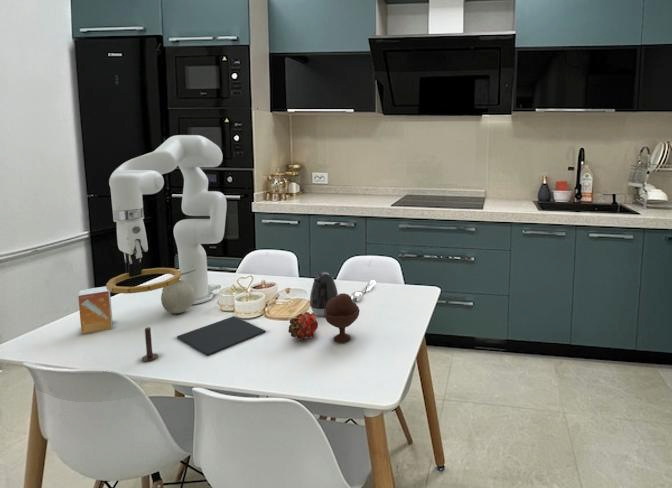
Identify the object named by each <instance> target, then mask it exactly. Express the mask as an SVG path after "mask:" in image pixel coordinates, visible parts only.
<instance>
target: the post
mask: <svg viewBox="0 0 672 488" xmlns="http://www.w3.org/2000/svg"><path fill="white" fill-rule="evenodd" d="M151 329H152V328H151V327H150V326H148V327H147V326H146V327H145V328H144V337H145V338H144V339H145V350H146V351H145V352H146V354H145V355H143V356H142V358H141V362H143V363H148V362H152V361H155V360H157V359H158V358H159V354H158V353H153V342H152V330H151Z"/></svg>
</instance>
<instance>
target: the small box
mask: <svg viewBox="0 0 672 488" xmlns="http://www.w3.org/2000/svg"><path fill="white" fill-rule="evenodd" d="M77 297H78V307H79V308H78V310H79V321H80V332H81V335H85V334H89V333H94V332H99V331H105V330H111V329H112V328H113V312H112V311H113V310H112V298H111V292H110V291H109V290H107V288H106V285H104V286H100V287H99V286H98V287H92V288H86V289H80V290H79V292H78V296H77Z"/></svg>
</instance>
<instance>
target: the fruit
mask: <svg viewBox="0 0 672 488" xmlns="http://www.w3.org/2000/svg"><path fill="white" fill-rule="evenodd" d="M193 271H196V270H193ZM193 271H190V272H193ZM190 272H186V273H182V274H181V275H184V274H187V273H190ZM161 291H162V292H161V295H160V302H161V305H162V307H163V308H164V309H163V310H165V311H166V312H168V313H171V314H174V315H175V314H181V313H184V312H187V311H189V309H190V308H191V307H192V304H193V301H194V296H195V294H194V289H193V287H192V286H191V284H189V283H188V282H187V281H183V280H179V281H177V282H175V283H173V284H171V285H169V286H167V287H163V288H162V290H161ZM193 305H194V304H193Z"/></svg>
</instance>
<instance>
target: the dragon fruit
mask: <svg viewBox="0 0 672 488" xmlns="http://www.w3.org/2000/svg"><path fill="white" fill-rule="evenodd" d="M318 327H319V322H318V320H317V318H316V314H314V313H310V312H309V311H305V312H304V313H299V314H297V315H296V316H295V317H294V318H291V319H289V326H288V330H287V331H288V333H289V334H290V337H291V338H297V341H304V340H305V339H306V338H308V339H312V338H314V336H315V334H314V333H315V332H316V330H317V329H318Z"/></svg>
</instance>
